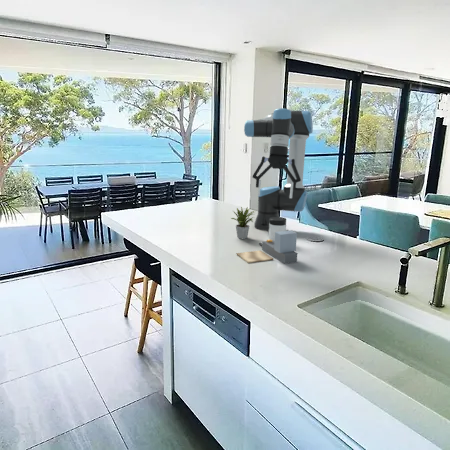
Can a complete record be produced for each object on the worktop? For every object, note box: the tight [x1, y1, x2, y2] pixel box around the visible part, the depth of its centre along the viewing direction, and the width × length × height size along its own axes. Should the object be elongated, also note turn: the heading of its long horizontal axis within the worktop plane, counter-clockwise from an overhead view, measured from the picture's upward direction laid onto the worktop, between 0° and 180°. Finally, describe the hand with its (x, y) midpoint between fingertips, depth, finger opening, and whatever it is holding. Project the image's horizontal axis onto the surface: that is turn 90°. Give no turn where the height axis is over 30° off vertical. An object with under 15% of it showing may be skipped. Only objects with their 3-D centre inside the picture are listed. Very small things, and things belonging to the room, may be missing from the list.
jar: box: [268, 216, 287, 241], centre depth 185 cm, size 9×8×12 cm
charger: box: [274, 229, 298, 253], centre depth 160 cm, size 4×8×10 cm, turn 112°
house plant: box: [230, 206, 256, 240], centre depth 191 cm, size 14×14×16 cm
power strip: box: [258, 239, 298, 265], centre depth 169 cm, size 28×6×5 cm, turn 22°
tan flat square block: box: [235, 250, 274, 264], centre depth 164 cm, size 12×12×1 cm
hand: (274, 196), depth 159 cm, fingers open, 13 cm apart
